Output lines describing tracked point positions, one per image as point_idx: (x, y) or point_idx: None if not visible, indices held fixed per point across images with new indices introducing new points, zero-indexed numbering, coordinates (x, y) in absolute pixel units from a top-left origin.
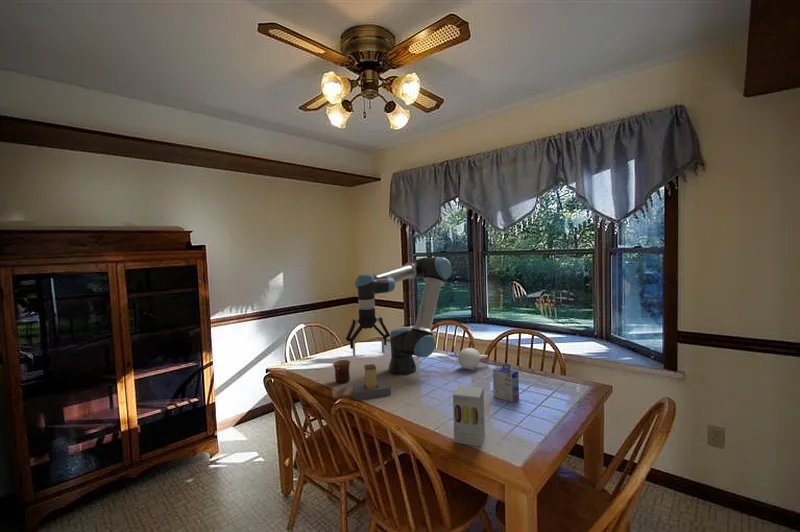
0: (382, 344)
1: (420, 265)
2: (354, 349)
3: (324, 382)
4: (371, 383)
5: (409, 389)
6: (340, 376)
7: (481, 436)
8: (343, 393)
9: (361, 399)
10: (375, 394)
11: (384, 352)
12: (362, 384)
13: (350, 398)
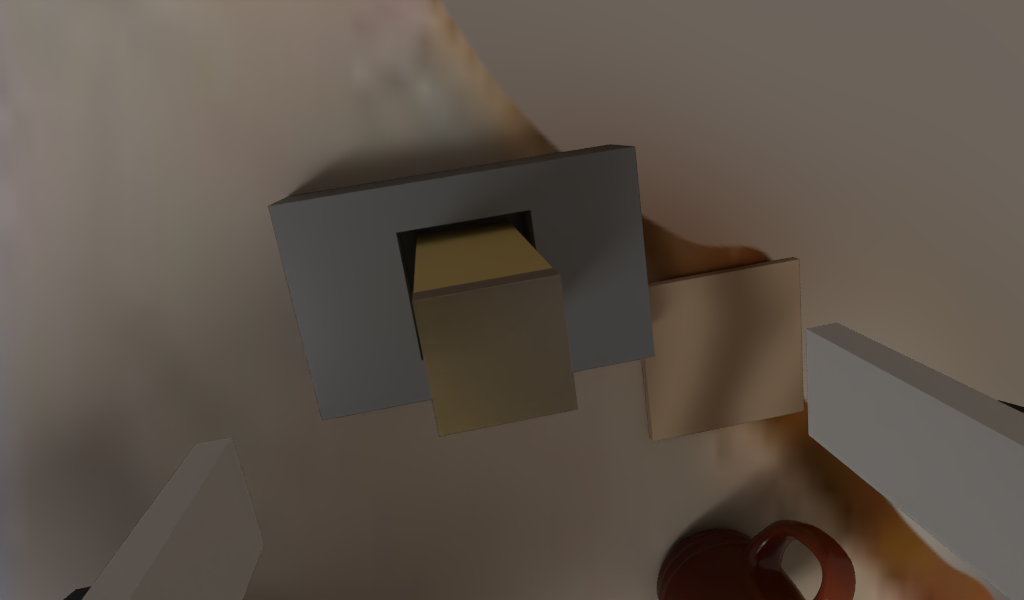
0: (171, 585)
1: None
2: (913, 377)
3: None
4: (473, 246)
5: (98, 324)
6: (760, 562)
7: None
8: (713, 316)
9: (562, 153)
10: (432, 176)
11: (197, 447)
12: None
13: (653, 224)
